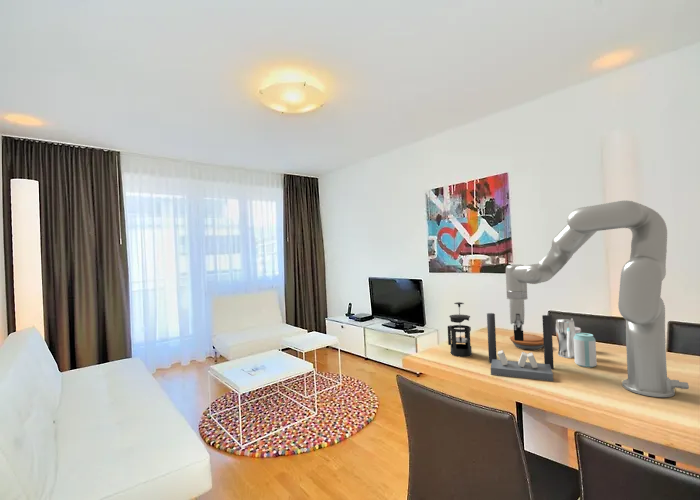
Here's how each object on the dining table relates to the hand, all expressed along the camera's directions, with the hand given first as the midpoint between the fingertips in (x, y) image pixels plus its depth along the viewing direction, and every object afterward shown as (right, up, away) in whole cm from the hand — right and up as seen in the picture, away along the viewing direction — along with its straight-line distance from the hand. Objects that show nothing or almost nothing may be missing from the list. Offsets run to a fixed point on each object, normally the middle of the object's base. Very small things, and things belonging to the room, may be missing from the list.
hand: (518, 337), depth 138 cm
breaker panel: (-4, -11, -10) cm, 15 cm away
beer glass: (+24, -10, +7) cm, 27 cm away
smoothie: (+32, -10, +15) cm, 37 cm away
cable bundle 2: (+9, -10, -7) cm, 15 cm away
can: (+24, -10, -5) cm, 26 cm away
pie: (+16, -11, +23) cm, 30 cm away
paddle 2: (0, -8, -12) cm, 15 cm away
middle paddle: (-4, -8, -10) cm, 14 cm away
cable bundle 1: (-10, -11, +2) cm, 15 cm away
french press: (-18, -12, +16) cm, 27 cm away
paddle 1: (-9, -8, -8) cm, 15 cm away
